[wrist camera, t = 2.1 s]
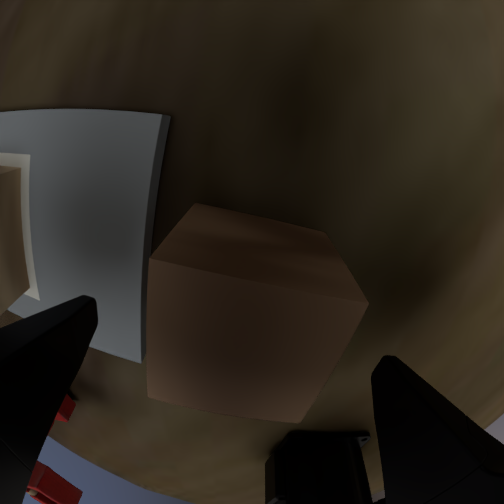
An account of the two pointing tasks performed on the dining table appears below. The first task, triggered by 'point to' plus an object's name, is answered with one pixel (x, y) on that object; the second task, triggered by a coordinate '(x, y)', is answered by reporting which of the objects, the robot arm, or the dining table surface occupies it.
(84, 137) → the plate
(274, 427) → the dining table surface
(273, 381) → the walnut cube
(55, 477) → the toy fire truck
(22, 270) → the oak base block
